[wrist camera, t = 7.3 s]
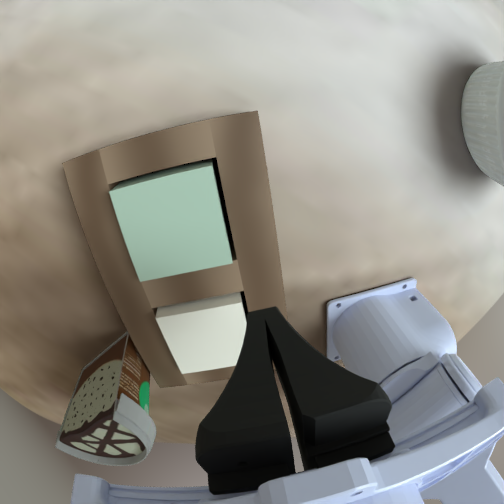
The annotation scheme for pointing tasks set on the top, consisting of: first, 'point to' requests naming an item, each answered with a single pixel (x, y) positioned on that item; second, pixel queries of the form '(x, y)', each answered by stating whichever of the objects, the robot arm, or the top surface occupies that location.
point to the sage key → (173, 221)
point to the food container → (110, 409)
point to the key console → (196, 282)
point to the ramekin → (485, 119)
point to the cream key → (204, 332)
